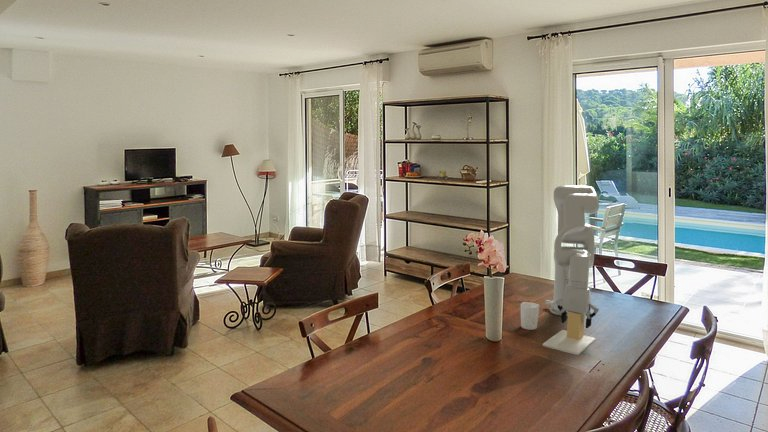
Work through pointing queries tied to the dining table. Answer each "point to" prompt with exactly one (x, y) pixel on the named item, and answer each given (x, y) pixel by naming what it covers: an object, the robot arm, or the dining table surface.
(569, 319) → the ochre block
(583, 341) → the white board
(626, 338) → the dining table surface
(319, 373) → the dining table surface
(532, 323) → the white cup
